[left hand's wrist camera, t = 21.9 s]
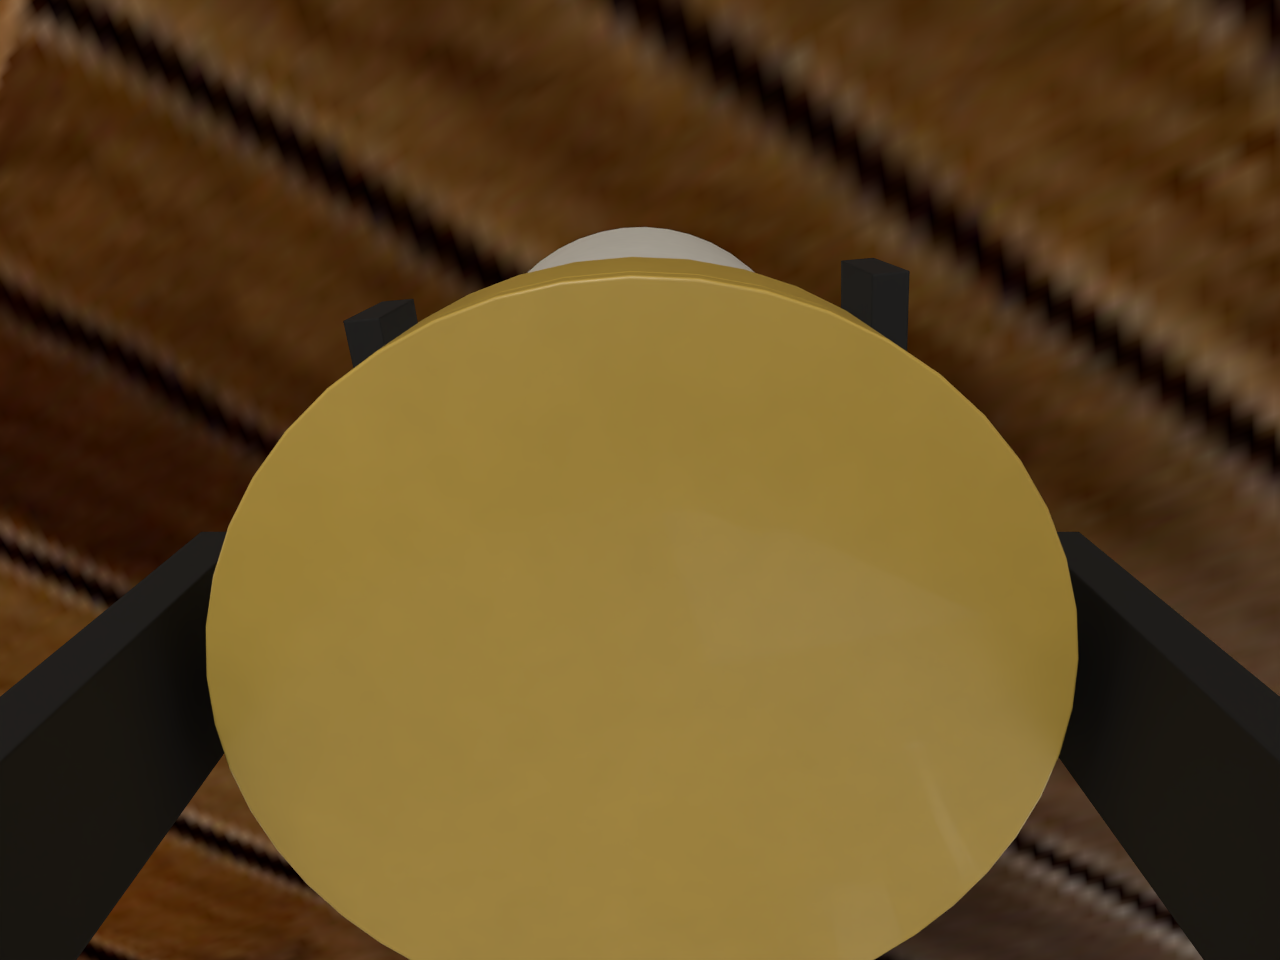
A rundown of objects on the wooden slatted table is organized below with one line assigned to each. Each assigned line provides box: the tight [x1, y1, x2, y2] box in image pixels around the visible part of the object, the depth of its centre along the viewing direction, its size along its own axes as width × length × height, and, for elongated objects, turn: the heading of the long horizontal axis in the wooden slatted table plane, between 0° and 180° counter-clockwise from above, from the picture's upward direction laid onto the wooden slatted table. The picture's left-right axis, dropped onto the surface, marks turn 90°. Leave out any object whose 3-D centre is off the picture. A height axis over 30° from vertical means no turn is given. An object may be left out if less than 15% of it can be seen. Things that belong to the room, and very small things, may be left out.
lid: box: [206, 257, 1078, 960], centre depth 11 cm, size 11×11×2 cm
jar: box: [528, 227, 755, 273], centre depth 18 cm, size 10×10×15 cm
